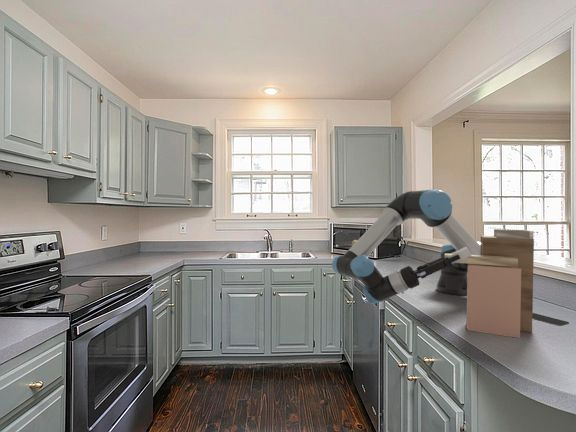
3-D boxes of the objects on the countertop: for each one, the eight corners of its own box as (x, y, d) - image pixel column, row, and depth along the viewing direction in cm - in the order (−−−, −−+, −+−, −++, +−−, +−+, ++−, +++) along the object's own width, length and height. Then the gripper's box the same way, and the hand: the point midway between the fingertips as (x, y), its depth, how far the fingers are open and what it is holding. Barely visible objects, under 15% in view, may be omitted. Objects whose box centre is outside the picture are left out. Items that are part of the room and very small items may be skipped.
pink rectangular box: (466, 323, 111) (467, 262, 110) (515, 330, 104) (516, 265, 104) (467, 330, 104) (468, 265, 104) (519, 338, 98) (521, 268, 98)
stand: (479, 317, 118) (480, 228, 117) (526, 323, 111) (527, 230, 111) (481, 324, 110) (483, 229, 109) (532, 332, 103) (534, 231, 103)
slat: (444, 260, 112) (444, 253, 112) (515, 265, 103) (515, 257, 103) (444, 261, 109) (444, 254, 109) (517, 266, 99) (518, 258, 99)
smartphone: (559, 325, 109) (512, 312, 123) (559, 327, 109) (512, 314, 123) (570, 322, 112) (523, 310, 126) (570, 324, 112) (523, 311, 126)
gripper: (412, 284, 123) (473, 257, 114) (407, 294, 108) (477, 264, 99) (402, 266, 125) (461, 239, 116) (395, 273, 110) (463, 242, 100)
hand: (468, 251), depth 107 cm, fingers closed on slat, 4 cm apart
